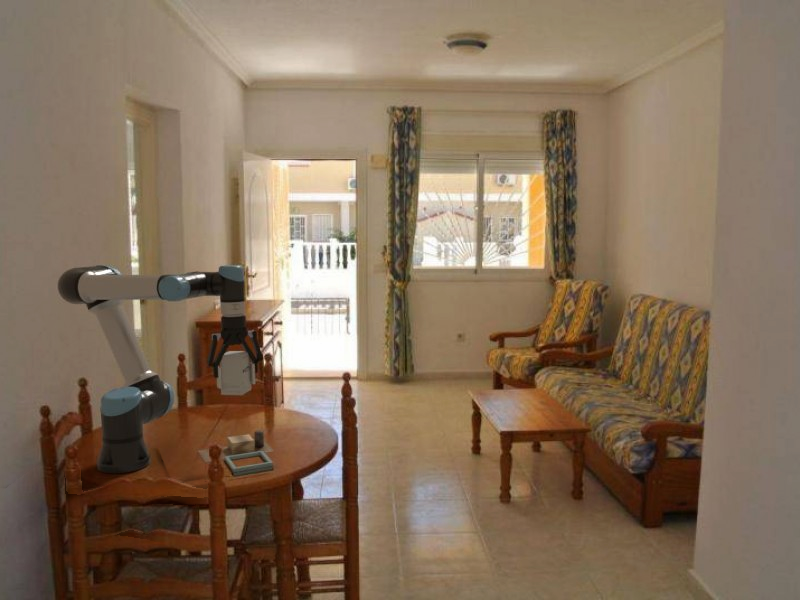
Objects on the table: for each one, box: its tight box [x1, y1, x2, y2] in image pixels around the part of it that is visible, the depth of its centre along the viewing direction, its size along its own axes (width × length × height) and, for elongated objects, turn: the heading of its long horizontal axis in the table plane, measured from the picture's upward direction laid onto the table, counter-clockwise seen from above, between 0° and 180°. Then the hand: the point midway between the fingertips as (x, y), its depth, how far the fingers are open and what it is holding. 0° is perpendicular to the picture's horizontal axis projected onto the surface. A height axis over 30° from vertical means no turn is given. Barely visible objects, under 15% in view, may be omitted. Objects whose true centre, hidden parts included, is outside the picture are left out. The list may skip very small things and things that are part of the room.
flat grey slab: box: [197, 429, 275, 463], centre depth 216 cm, size 22×12×6 cm, turn 117°
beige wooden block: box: [227, 433, 255, 454], centre depth 217 cm, size 7×7×4 cm
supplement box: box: [219, 350, 252, 396], centre depth 209 cm, size 7×7×13 cm
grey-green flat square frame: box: [224, 451, 274, 478], centre depth 205 cm, size 12×12×2 cm
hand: (236, 385), depth 209 cm, fingers closed on supplement box, 10 cm apart
